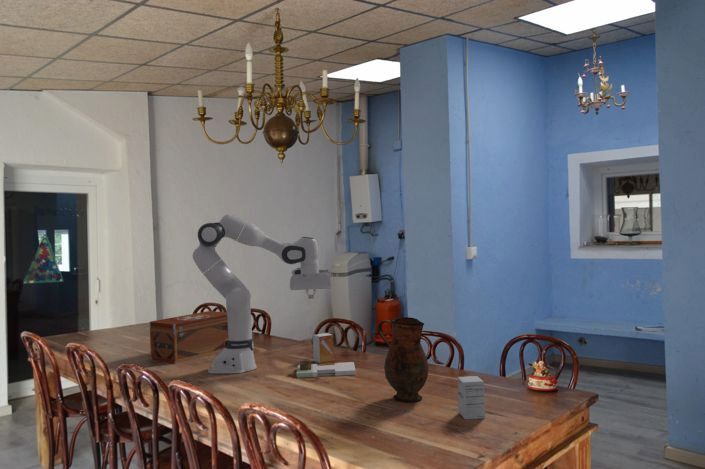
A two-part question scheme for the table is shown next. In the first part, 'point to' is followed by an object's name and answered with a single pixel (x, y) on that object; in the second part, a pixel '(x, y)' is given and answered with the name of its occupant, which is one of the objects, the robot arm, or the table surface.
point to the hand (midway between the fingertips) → (311, 298)
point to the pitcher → (405, 358)
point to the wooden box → (188, 336)
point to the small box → (323, 347)
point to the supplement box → (471, 397)
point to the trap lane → (328, 370)
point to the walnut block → (305, 364)
